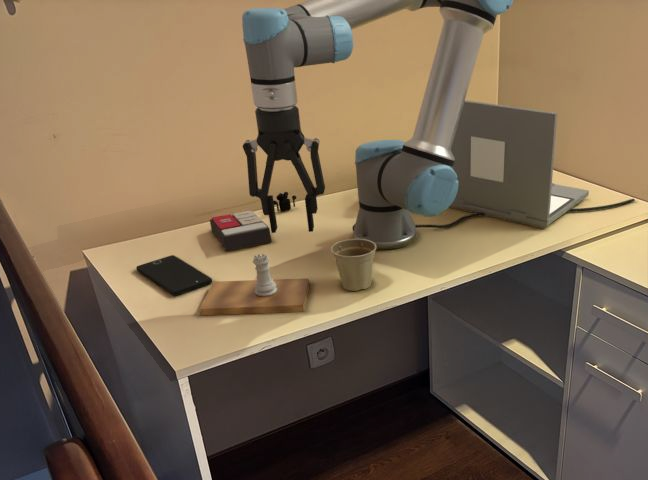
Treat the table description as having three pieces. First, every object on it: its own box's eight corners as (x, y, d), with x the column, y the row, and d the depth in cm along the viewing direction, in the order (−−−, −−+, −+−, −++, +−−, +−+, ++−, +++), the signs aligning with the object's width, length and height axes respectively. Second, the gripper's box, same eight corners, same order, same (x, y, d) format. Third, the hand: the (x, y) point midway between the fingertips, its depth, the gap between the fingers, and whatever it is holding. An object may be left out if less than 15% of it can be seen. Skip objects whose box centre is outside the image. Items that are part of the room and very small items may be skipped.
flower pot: (335, 275, 149) (331, 239, 144) (379, 274, 150) (376, 237, 145) (333, 295, 141) (329, 257, 136) (378, 294, 142) (376, 255, 137)
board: (309, 284, 145) (309, 278, 145) (304, 311, 135) (303, 304, 135) (214, 287, 144) (213, 281, 143) (201, 315, 134) (199, 308, 133)
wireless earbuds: (275, 214, 180) (272, 196, 177) (270, 212, 182) (268, 193, 179) (298, 208, 184) (296, 190, 181) (293, 206, 186) (291, 188, 183)
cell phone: (173, 258, 157) (172, 254, 156) (213, 282, 146) (212, 278, 145) (136, 270, 151) (135, 266, 151) (174, 296, 141) (173, 292, 140)
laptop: (587, 199, 189) (599, 92, 174) (546, 231, 170) (555, 113, 155) (479, 178, 205) (481, 78, 190) (430, 204, 186) (428, 96, 171)
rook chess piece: (282, 290, 140) (276, 254, 136) (268, 299, 137) (262, 262, 132) (264, 285, 142) (258, 250, 137) (250, 294, 138) (244, 258, 134)
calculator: (252, 208, 174) (269, 224, 162) (255, 224, 176) (272, 242, 164) (208, 216, 169) (222, 233, 158) (211, 233, 171) (226, 251, 160)
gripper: (215, 112, 116) (238, 238, 129) (330, 110, 118) (342, 235, 130) (224, 102, 123) (245, 223, 135) (333, 100, 124) (344, 220, 136)
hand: (292, 229), depth 132 cm, fingers open, 6 cm apart
